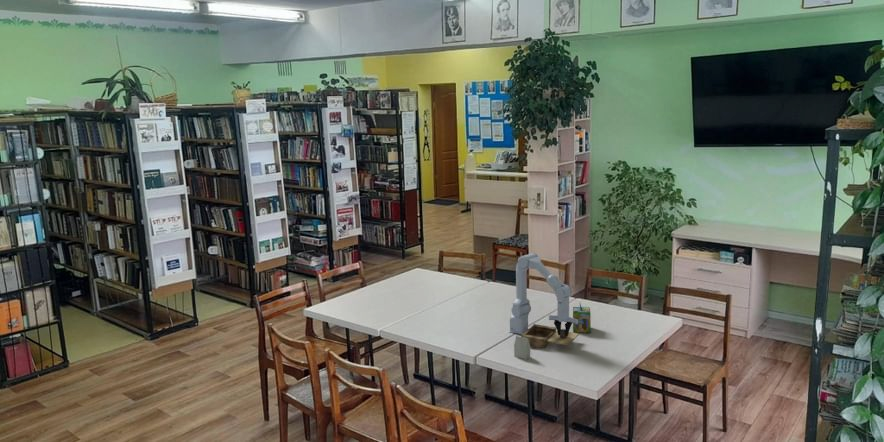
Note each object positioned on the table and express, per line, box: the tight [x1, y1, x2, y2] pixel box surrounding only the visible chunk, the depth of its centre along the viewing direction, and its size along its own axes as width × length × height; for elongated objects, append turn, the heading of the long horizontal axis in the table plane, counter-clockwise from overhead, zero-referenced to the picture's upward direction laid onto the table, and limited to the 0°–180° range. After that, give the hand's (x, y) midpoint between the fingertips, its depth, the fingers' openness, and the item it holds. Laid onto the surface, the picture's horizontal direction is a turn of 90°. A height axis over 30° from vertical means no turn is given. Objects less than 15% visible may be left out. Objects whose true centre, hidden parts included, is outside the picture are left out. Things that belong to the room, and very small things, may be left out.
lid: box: [547, 328, 580, 346], centre depth 306 cm, size 11×15×4 cm
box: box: [520, 323, 557, 350], centre depth 313 cm, size 12×18×5 cm, turn 150°
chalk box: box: [572, 302, 592, 334], centre depth 325 cm, size 9×9×15 cm
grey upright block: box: [513, 335, 531, 361], centre depth 294 cm, size 4×7×10 cm, turn 50°
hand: (563, 335), depth 306 cm, fingers closed on lid, 3 cm apart
